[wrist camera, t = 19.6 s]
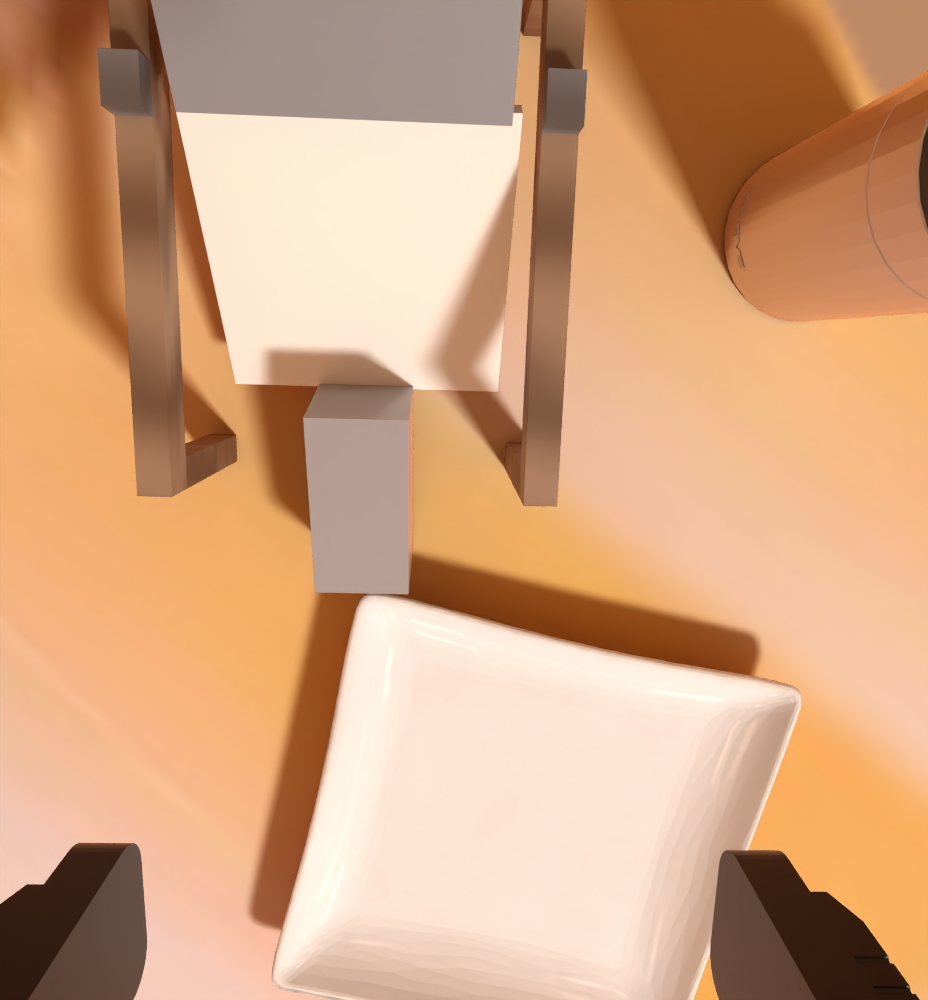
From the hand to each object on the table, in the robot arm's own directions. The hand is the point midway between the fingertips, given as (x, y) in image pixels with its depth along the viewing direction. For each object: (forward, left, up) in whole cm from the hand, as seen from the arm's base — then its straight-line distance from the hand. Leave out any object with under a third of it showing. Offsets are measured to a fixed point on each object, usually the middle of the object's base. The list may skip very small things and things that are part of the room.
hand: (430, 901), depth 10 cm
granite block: (+4, -5, -29) cm, 29 cm away
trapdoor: (+4, -15, -28) cm, 32 cm away
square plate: (-6, +22, -35) cm, 42 cm away
